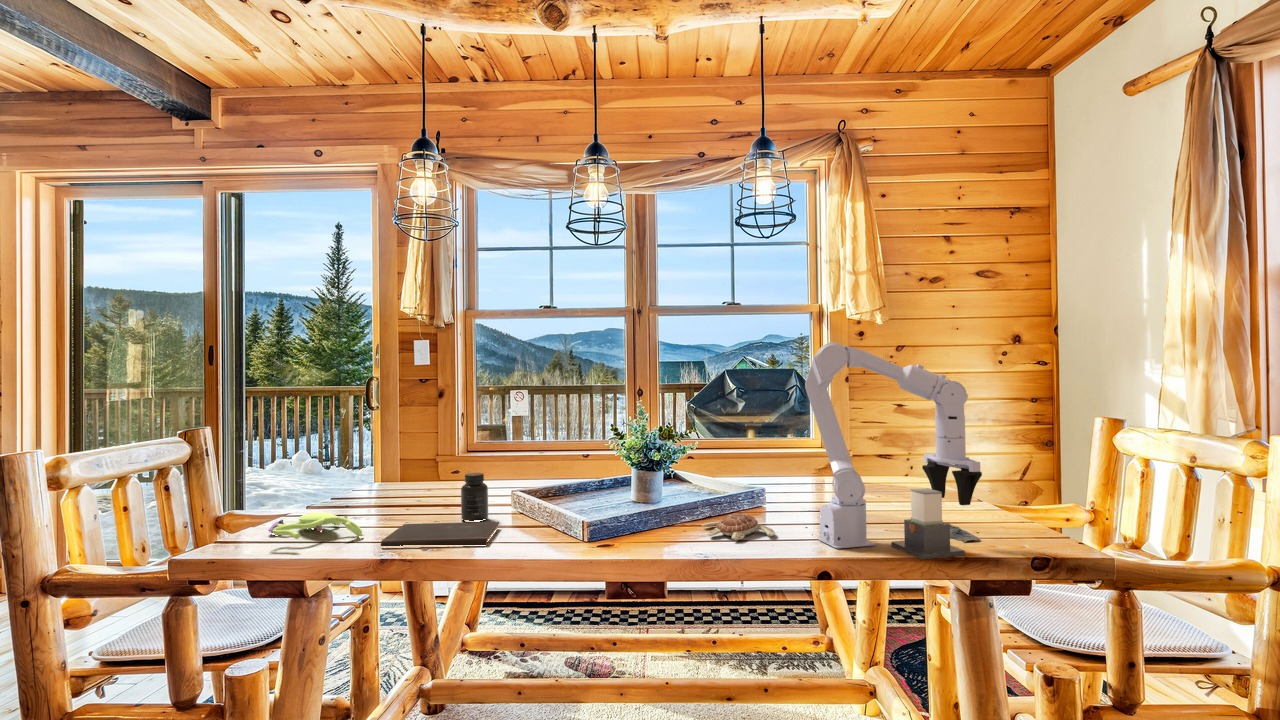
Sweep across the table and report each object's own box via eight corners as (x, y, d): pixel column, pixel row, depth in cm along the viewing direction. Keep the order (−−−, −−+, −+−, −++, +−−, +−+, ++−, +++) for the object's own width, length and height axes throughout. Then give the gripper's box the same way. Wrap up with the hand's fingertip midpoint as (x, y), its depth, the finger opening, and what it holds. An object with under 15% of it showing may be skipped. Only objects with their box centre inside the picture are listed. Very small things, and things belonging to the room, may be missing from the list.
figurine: (275, 557, 137) (275, 531, 137) (263, 532, 159) (263, 509, 159) (367, 543, 148) (367, 518, 148) (344, 521, 170) (344, 500, 170)
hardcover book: (404, 533, 157) (404, 523, 157) (499, 531, 158) (499, 521, 158) (380, 551, 141) (380, 541, 141) (486, 549, 142) (486, 538, 142)
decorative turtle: (787, 532, 153) (787, 511, 153) (759, 548, 139) (759, 525, 139) (719, 522, 163) (718, 503, 163) (686, 537, 149) (686, 515, 149)
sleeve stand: (922, 559, 129) (921, 529, 129) (891, 546, 138) (890, 518, 138) (964, 555, 131) (964, 525, 131) (931, 542, 141) (930, 515, 141)
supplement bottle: (460, 518, 170) (460, 472, 170) (487, 516, 172) (486, 471, 172) (461, 524, 163) (461, 476, 164) (489, 521, 165) (488, 475, 166)
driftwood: (984, 545, 140) (984, 535, 140) (952, 545, 141) (952, 535, 141) (942, 524, 161) (942, 515, 161) (915, 524, 161) (914, 515, 161)
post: (924, 535, 132) (923, 493, 132) (910, 529, 136) (910, 489, 136) (942, 533, 133) (942, 491, 133) (928, 528, 137) (927, 488, 138)
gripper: (992, 439, 130) (994, 506, 130) (942, 433, 145) (943, 493, 144) (962, 440, 129) (964, 509, 129) (915, 434, 143) (916, 495, 143)
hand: (951, 501), depth 136 cm, fingers open, 7 cm apart
